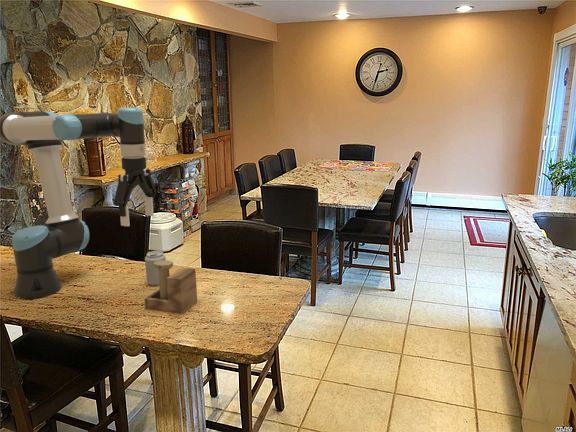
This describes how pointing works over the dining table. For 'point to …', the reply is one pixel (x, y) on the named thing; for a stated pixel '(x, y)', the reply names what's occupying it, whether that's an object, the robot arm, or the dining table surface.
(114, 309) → the dining table surface
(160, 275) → the handle
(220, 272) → the dining table surface
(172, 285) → the wooden stand
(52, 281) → the robot arm
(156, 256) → the can
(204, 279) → the dining table surface
